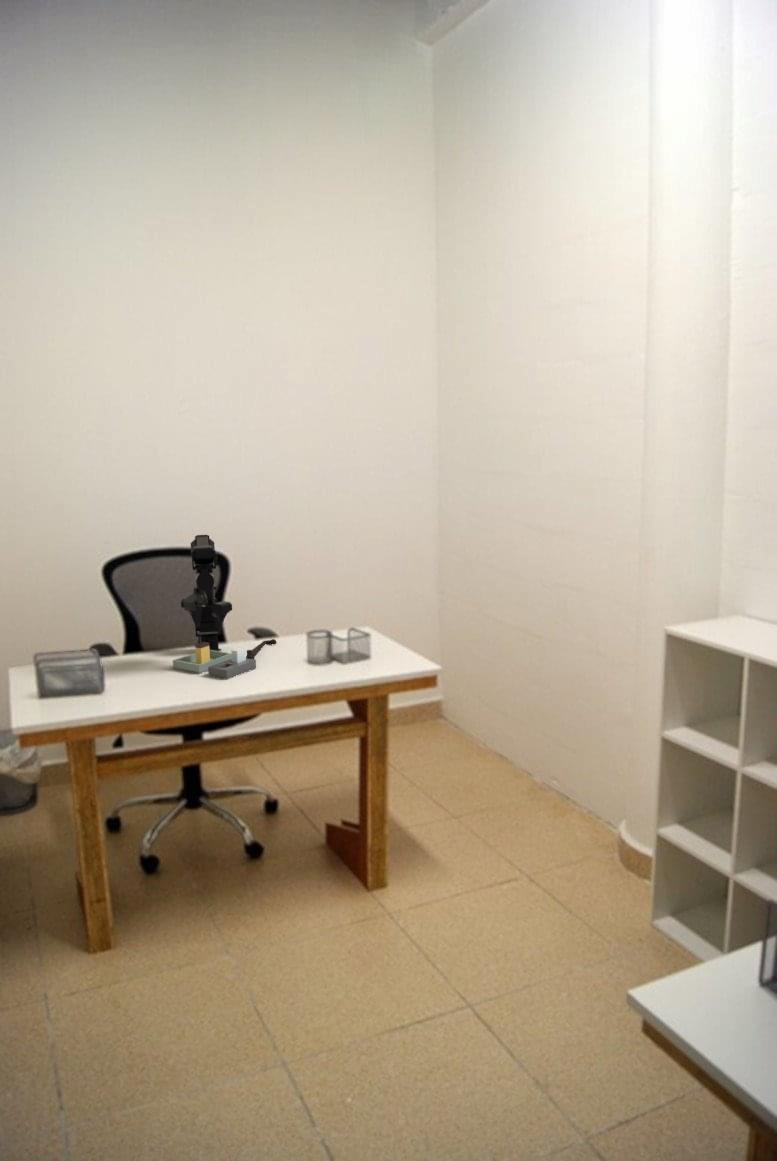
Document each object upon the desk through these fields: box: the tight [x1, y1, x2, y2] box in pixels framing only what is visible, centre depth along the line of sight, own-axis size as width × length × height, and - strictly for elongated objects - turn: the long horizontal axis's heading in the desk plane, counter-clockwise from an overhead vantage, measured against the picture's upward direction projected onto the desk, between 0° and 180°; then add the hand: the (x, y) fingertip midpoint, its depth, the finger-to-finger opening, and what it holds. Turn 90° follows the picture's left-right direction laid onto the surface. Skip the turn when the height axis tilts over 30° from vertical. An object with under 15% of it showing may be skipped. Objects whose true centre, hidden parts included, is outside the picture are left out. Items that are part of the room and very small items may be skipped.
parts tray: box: [172, 650, 232, 674], centre depth 299 cm, size 12×16×3 cm
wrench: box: [246, 638, 277, 660], centre depth 311 cm, size 5×5×30 cm
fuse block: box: [207, 658, 257, 680], centre depth 290 cm, size 8×14×3 cm, turn 147°
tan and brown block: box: [194, 642, 210, 664], centre depth 298 cm, size 2×4×7 cm, turn 147°
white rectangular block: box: [230, 647, 247, 663], centre depth 293 cm, size 2×4×7 cm, turn 147°
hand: (207, 629), depth 299 cm, fingers open, 9 cm apart
